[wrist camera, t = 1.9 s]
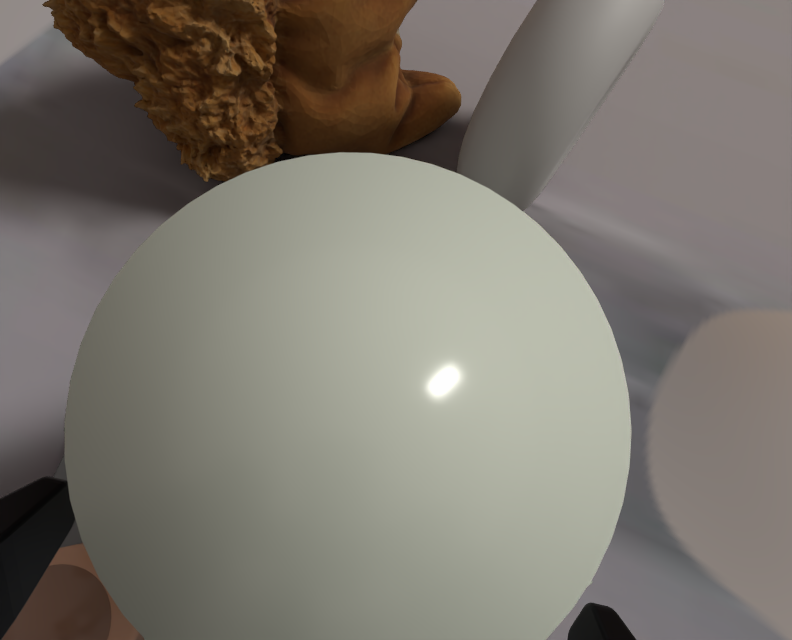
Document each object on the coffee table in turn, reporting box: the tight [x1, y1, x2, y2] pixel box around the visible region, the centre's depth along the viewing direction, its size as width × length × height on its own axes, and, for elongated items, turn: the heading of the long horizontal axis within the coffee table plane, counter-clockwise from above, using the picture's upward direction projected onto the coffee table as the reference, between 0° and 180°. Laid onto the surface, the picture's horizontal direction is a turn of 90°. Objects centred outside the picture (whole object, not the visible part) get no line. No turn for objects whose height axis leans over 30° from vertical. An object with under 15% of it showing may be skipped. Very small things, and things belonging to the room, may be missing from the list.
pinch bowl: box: [1, 543, 144, 640], centre depth 15 cm, size 4×4×2 cm
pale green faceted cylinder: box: [64, 152, 631, 640], centre depth 12 cm, size 7×7×12 cm
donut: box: [457, 0, 665, 211], centre depth 18 cm, size 10×4×10 cm, turn 145°
